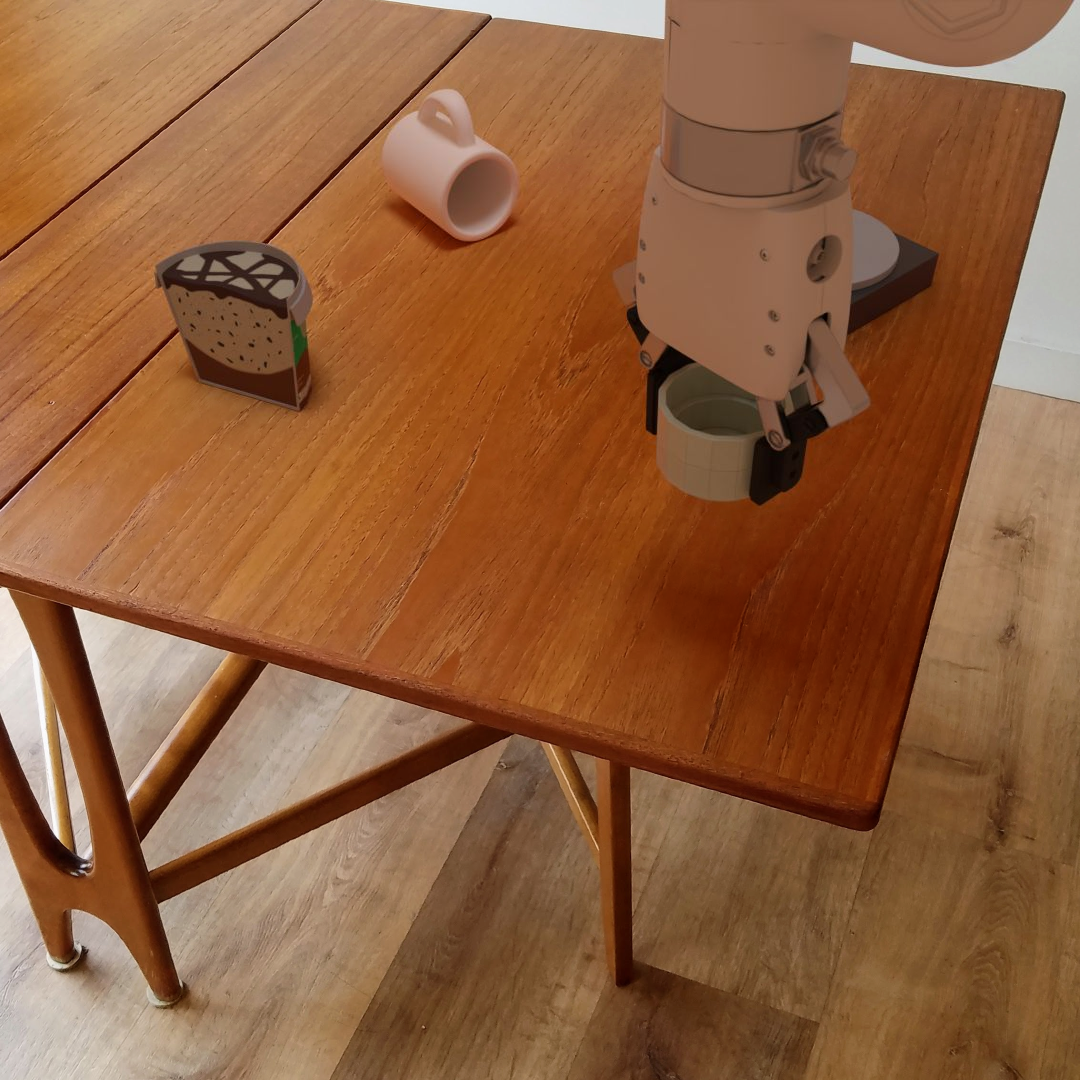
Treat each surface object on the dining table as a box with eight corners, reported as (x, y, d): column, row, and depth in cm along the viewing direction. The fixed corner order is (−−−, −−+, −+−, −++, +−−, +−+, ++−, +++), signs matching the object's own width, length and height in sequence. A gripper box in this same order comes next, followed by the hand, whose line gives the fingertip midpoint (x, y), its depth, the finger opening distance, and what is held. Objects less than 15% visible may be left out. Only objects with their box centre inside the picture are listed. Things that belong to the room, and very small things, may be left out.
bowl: (810, 467, 62) (821, 400, 58) (721, 526, 59) (727, 459, 55) (717, 409, 65) (723, 343, 62) (629, 462, 62) (630, 395, 59)
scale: (931, 285, 96) (941, 244, 93) (816, 353, 90) (824, 311, 87) (802, 222, 104) (809, 182, 101) (688, 280, 97) (691, 240, 95)
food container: (360, 371, 89) (341, 257, 82) (317, 416, 85) (293, 301, 78) (229, 335, 93) (201, 223, 86) (182, 377, 89) (148, 263, 82)
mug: (460, 182, 111) (450, 56, 102) (521, 225, 105) (516, 95, 96) (385, 208, 107) (369, 80, 99) (444, 254, 101) (432, 123, 93)
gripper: (976, 175, 46) (897, 505, 58) (669, 53, 56) (657, 358, 68) (853, 242, 42) (797, 577, 55) (550, 100, 52) (561, 411, 65)
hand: (720, 453), depth 61 cm, fingers closed on bowl, 6 cm apart
